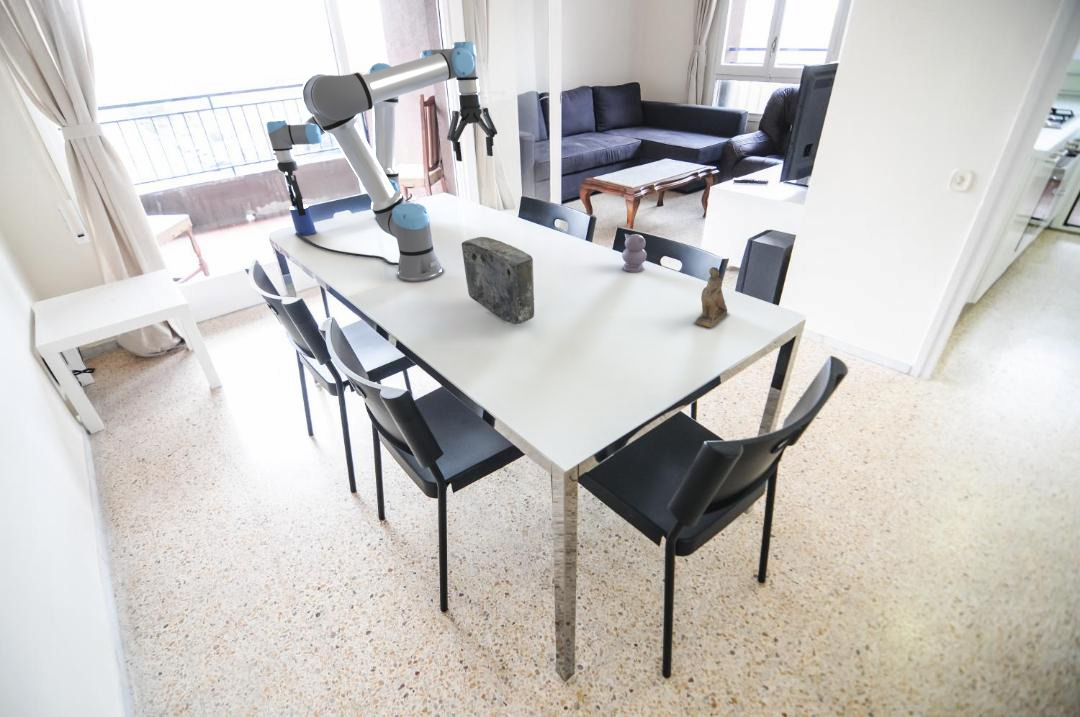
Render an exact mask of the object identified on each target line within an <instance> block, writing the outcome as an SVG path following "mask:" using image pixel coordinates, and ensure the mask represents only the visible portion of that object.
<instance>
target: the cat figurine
mask: <svg viewBox="0 0 1080 717" xmlns="http://www.w3.org/2000/svg"><path fill="white" fill-rule="evenodd" d="M624 237H625V241H624V246H625V249H624V250H623V251H622V253H621V254H622V255H621V257H622V260H623V261H624V262H625V263H624V264H623V270H624V271H626V272H631V273H639V272H641V271H642V270H643V266H644V265H643V263H645V262H646V260H647V257H648V254H647V251H646V250H645V247H646V239H645V238H644V237H643V236H642V235H640V234H637V233H635V234H628V233H624Z"/></svg>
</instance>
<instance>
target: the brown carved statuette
mask: <svg viewBox="0 0 1080 717" xmlns="http://www.w3.org/2000/svg"><path fill="white" fill-rule="evenodd" d="M708 273H709V275H710V276H709V278H708V279H707V280H708V281H707V284H706V286H705V287H704V288H703V290H702V292H701V297H700V298H701V309H702V312H701V315H700V316H699V317H698V318H697V319H696V321H695V324H696V325H699V326H703V327H705V328H712V327H714V326H715V325H716V324H717V323H719V321H721V320H722V319H723V318H725V317H726V316H727V315H728V307H727V304H726V301H725V298H724V293H723V290H722V287H723V281H722V279H721V278H720V270H719V269H718V268H717V267H715V266H712V267H711V268H710V269H709V270H708Z"/></svg>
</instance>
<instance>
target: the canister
mask: <svg viewBox="0 0 1080 717" xmlns="http://www.w3.org/2000/svg"><path fill="white" fill-rule="evenodd" d="M303 205H304V209H305V213H306V215H303V216H299V214H298V210H297V206H293V207H292V206H290V207H289V208H288V209H289V212H290V216H291V219H292V224H293V225H294V226H293V227H294V229H295V233H299V234H300V235H302V236H303V237H306V236H311V235H314V234H316V232H317V230H316V226H315V223H314V220H313V216H312V212H311V209H310V205H308V204H303Z"/></svg>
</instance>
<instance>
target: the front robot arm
mask: <svg viewBox="0 0 1080 717" xmlns="http://www.w3.org/2000/svg"><path fill="white" fill-rule="evenodd" d="M419 55H420V56H419V58H418V59H417V58H416V59H414V60H411V61H407V62H404V63H400V64H397V65H394V66H391V67H390V68H386V69H383V70H379V71H376V72H373V73H369V74H368V73H366V74H362V73H360V72H355V73H350V74H343V75H335V74H334V75H333V74H327V75H326V74H322V73H321V74H319V73H318V74H316V75H312V76H311V77H309V78H307V79H306V80H305V82H304V83H303V85H302V88H301V99H302V102H303V105H304V107H305V108H306V110H307V111H308V112H309V113H310V114H311V115H312V116H315V117H316V119H317V121H318V122H319V124H320V126H321V127H322V129H323V130H324V131H325V133H327V134H330V135H331V136H332V137H333V139H334V141H335V143H336V144H337V146H338V147H339V149H340V151H341V153H342V154H343V156H344V157H345V159H346V161H347V163H348V164H349V165H350V167H351V169H352V170H353V172H354V174H355V175H356V177H357V178H358V180H359V182H360V184H361V185H362V187H363V189H364V191H365V192H366V193H367V195H368V197H369V198H370V200H371V205H370V208H371V210H372V212H373V214H374V217H375V221H376V224H377V225H378V226H379V229H381V230H382V231H383V232H385V233H386V234H388V235H390V236H392V237H394V238H396V241H397V247H398V251H399V259H398V262H395V261H394V262H393V261H389V260H388V259H387V258H386V257H384V256H380V255H376V254H375V255H374V254H364V253H355V252H350V251H349V252H348V251H343V250H337V249H332V248H328V247H324V246H321V245H319V244H317V243H315V242H313V241H311V240H309V239H308V238H306V236H302V235H300V234H299V233H296V232H295V235H296V236H298V237H299V238H300V239H302V240H304V242H307V243H308V244H309V245H311V246H314V247H315V248H318V249H320V250H324V251H327V252H331V253H336V254H340V255H347V256H354V257H361V258H370V259H379V260H382V261H384V262H385V263H386V264H388V265H391V266H397V276H398V278H399V279H400V280H402V281H406V282H413V283H414V282H425V281H429V280H432V279H435V278H438V277H439V276H440V275H441V274H442V273H443V268H442V264H441V263H440V260H439V259H438V256H437V254H436V252H435V250H434V243H433V236H432V230H431V229H432V228H431V222H430V215H429V212H428V209H427V208H426V207H425V206H424V205H423V204H420V203H414V202H407V201H405V200H406V199H405V197H404V195H403V194H402V192H401V191H400V192H399V191H395V190H394V188H393V187H392V185H391V183H390V181H389V180H388V178H387V176H386V174H385V172H384V171H383V169H382V167H381V165H380V164H379V162H378V160H377V158H376V156H375V155H374V150H373V149H372V148H371V146H370V144H369V142H368V141H367V139H366V137H365V135H364V133H363V131H362V130H361V128H360V126H359V124H358V122H357V119H358V115H359V114H361V113H364V112H366V111H370V110H373V106H374V104H375V103H378V102H381V101H384V100H387V99H391V98H394V97H397V96H398V97H400V96H402V95H406V94H408V93H412V92H414V91H418V90H420V89H424V88H427V87H430V86H434V85H436V84H440V83H442V82H445V81H449V80H452V79H456V86H457V93H458V97H457V98H458V99H457V100H458V107H459V110H452V112H451V117H452V118H451V121H450V125H449V129H448V132H447V136H446V139H447V141H450V142H452V150H453V152H454V153H455V159H456V161H457V162H463V156H462V148H461V141H459V139H460V138H461V136H462V134H463V132H464V130H465V128H466V126H468V125H469V124H470V125H471V124H478V126H479V128H481V130H482V131H483V132H484V133H485V134H486V136H485V146H486V155H487V156H488V157H493V156H494V152H493V146H494V137H495V136H496V135H498V130H497V128H496V125H495V124H494V122H493V120H492V118H491V115H490V112H489V108H488V107H482V108H481V95H480V94H479V93H480V84H479V74H478V71H479V70H478V60H477V59H478V56H477V50H476V45H475V43H474V42H473V41H454V42H453V43H452V48H441V49H431V48H430V49H423V50H422V51H421V53H420V54H419ZM481 115H482V117H483V118H482V117H481ZM460 117H461V119H459V118H460ZM484 121H485V122H484Z"/></svg>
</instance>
